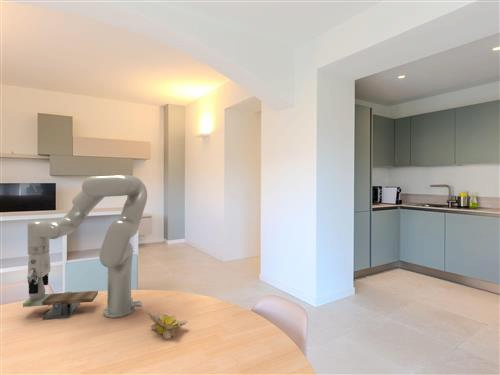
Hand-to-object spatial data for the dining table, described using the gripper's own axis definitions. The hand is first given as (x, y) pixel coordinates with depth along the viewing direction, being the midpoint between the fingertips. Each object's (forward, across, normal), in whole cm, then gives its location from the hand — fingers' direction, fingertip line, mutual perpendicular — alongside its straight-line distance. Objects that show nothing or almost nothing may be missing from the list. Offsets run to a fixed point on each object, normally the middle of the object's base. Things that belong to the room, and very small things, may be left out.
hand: (38, 289), depth 126 cm
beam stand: (+10, 0, -9) cm, 14 cm away
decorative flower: (+11, -27, -54) cm, 62 cm away
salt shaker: (+4, 0, +1) cm, 4 cm away
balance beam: (+6, 0, -9) cm, 11 cm away
